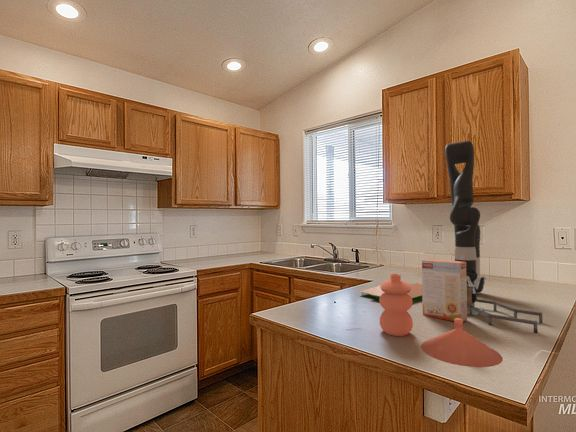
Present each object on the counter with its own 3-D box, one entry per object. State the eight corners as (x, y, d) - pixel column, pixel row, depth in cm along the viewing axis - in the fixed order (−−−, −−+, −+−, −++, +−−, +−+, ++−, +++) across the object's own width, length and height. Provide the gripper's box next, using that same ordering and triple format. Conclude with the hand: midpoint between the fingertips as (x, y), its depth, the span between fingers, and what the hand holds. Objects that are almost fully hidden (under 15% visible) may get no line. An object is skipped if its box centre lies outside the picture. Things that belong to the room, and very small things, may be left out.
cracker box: (468, 320, 123) (467, 261, 123) (460, 323, 119) (459, 262, 119) (429, 312, 134) (429, 258, 134) (422, 315, 130) (421, 259, 130)
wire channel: (432, 314, 130) (432, 305, 130) (451, 303, 146) (451, 295, 147) (537, 333, 109) (537, 322, 109) (545, 317, 125) (545, 307, 125)
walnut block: (457, 306, 136) (456, 286, 136) (460, 304, 140) (460, 284, 140) (471, 308, 133) (470, 287, 133) (474, 306, 136) (474, 285, 136)
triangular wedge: (355, 299, 157) (355, 281, 157) (396, 289, 178) (396, 273, 178) (400, 309, 140) (400, 289, 140) (440, 297, 161) (439, 279, 161)
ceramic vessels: (517, 354, 93) (516, 283, 93) (484, 378, 79) (483, 295, 79) (401, 324, 120) (400, 269, 120) (362, 338, 106) (361, 276, 106)
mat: (448, 310, 135) (448, 310, 135) (456, 305, 144) (456, 304, 144) (476, 315, 129) (476, 314, 129) (483, 309, 137) (483, 308, 137)
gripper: (443, 257, 138) (443, 300, 138) (483, 260, 129) (483, 306, 129) (449, 256, 144) (449, 297, 144) (488, 258, 134) (488, 302, 134)
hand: (465, 301), depth 136 cm, fingers closed on walnut block, 5 cm apart
